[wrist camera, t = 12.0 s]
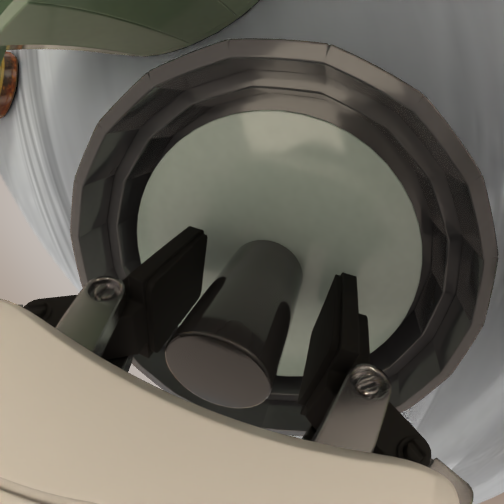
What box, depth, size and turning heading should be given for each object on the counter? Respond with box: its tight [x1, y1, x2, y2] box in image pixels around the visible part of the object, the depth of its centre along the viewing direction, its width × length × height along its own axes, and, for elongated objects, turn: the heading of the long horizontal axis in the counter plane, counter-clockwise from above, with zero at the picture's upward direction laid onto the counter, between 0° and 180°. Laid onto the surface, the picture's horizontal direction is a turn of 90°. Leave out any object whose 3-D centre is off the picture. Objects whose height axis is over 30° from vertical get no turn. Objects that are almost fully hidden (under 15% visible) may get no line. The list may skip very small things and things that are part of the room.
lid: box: [137, 110, 422, 408], centre depth 10 cm, size 13×13×7 cm
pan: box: [70, 38, 498, 436], centre depth 11 cm, size 16×16×4 cm
